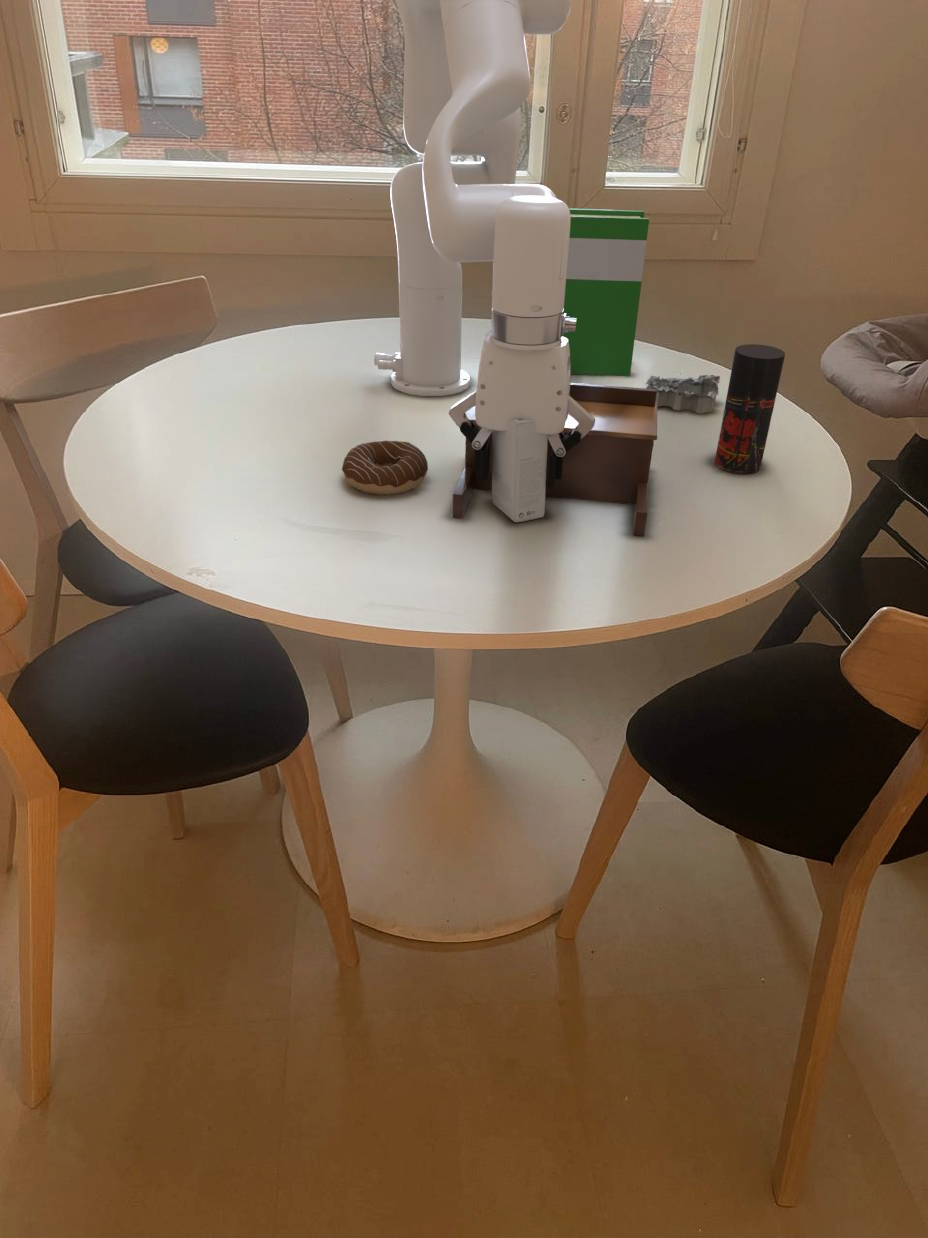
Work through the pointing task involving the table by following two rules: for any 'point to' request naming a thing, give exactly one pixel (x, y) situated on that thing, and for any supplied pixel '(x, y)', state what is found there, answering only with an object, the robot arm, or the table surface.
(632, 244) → the hardback book
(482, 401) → the robot arm
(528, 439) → the cosmetic box
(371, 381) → the table surface
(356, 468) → the donut
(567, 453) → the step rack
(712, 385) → the egg carton
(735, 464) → the deodorant
